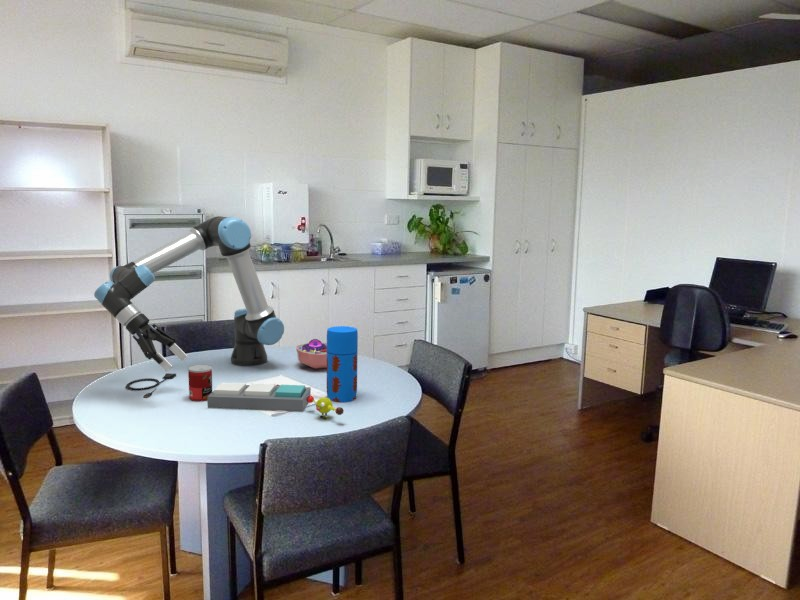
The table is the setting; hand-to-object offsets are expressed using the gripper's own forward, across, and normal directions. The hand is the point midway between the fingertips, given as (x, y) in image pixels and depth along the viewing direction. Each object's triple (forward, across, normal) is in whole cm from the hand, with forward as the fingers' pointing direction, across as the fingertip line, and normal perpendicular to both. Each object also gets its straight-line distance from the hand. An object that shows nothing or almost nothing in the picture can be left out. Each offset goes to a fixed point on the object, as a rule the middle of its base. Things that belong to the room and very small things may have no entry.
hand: (177, 363), depth 220 cm
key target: (+36, +2, +21) cm, 42 cm away
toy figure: (+47, +14, +29) cm, 57 cm away
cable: (-3, -12, -22) cm, 25 cm away
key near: (+21, +2, +6) cm, 22 cm away
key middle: (+28, +2, +14) cm, 32 cm away
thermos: (+49, -7, +31) cm, 58 cm away
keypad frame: (+30, +2, +12) cm, 32 cm away
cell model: (+37, -46, +20) cm, 62 cm away
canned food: (+14, -1, -3) cm, 15 cm away
